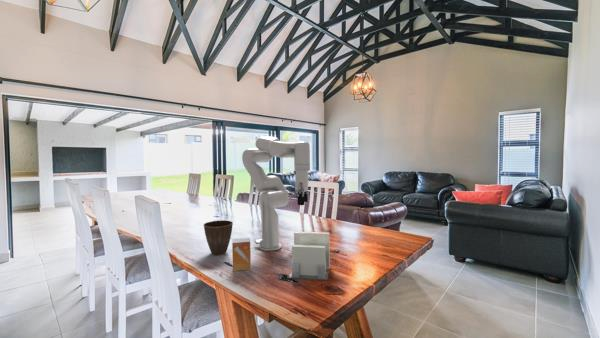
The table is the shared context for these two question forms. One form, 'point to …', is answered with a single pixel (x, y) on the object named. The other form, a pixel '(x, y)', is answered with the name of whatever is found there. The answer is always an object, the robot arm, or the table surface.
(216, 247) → the plant pot
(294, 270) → the white boxy piece
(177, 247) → the table surface
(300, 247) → the door panel
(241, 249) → the small box
